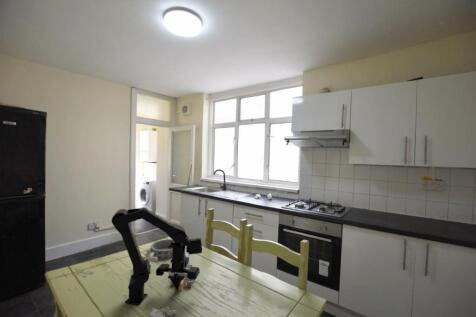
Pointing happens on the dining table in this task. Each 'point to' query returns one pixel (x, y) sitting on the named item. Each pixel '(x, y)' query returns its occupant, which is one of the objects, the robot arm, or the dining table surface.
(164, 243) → the grey round bowl
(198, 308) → the dining table surface
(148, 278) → the robot arm
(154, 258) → the pipe connector
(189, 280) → the frame
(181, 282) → the plug
